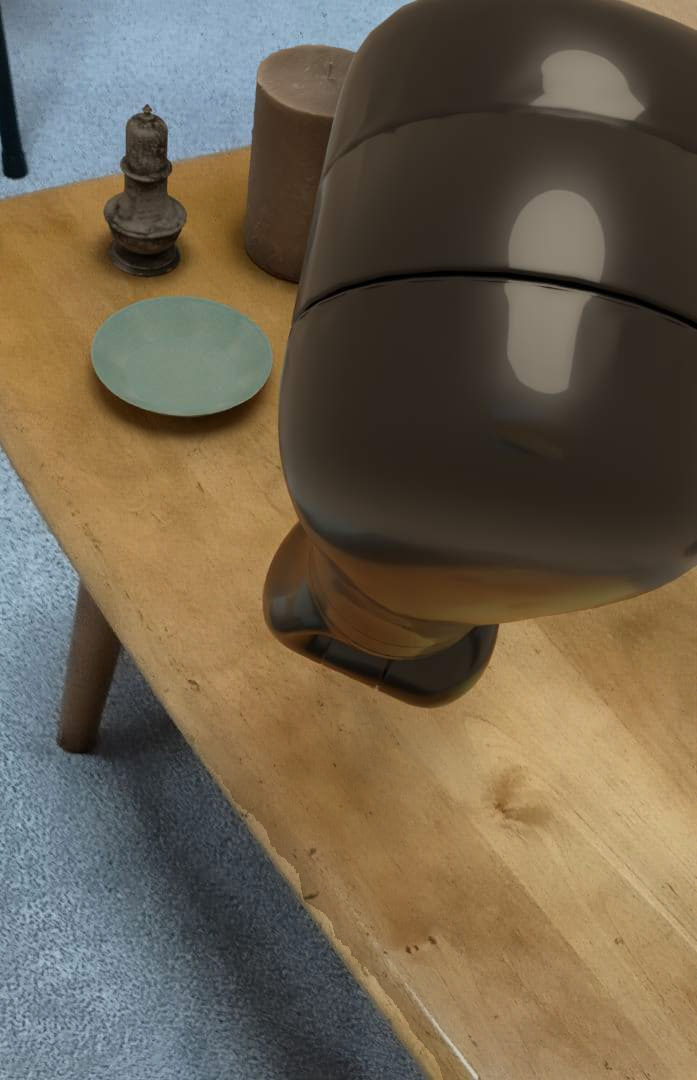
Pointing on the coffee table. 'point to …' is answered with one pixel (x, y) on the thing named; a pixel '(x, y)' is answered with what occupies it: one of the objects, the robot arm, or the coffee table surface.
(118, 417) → the coffee table surface
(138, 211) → the salt shaker
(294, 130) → the pillar candle
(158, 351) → the saucer
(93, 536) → the coffee table surface
